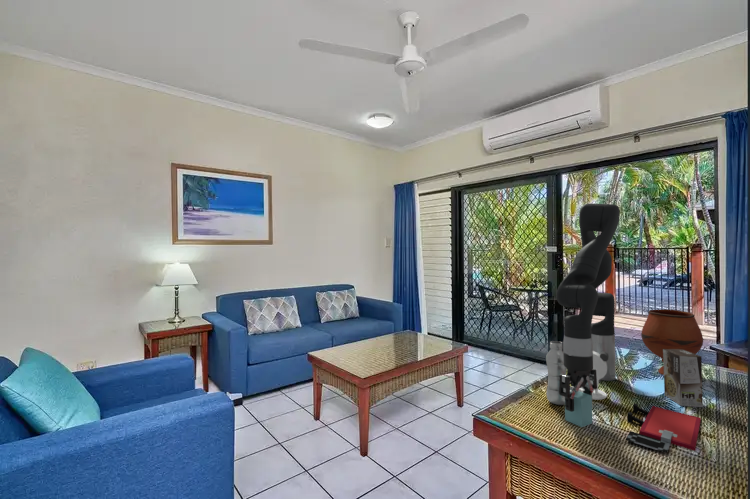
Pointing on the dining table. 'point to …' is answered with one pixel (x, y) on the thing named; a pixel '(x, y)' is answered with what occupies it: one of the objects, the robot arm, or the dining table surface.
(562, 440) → the dining table surface
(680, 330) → the terracotta clay pot
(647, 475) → the dining table surface
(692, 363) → the coffee box
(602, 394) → the white round-based fixture
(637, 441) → the red board with handle
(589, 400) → the teal block
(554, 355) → the plastic bottle
